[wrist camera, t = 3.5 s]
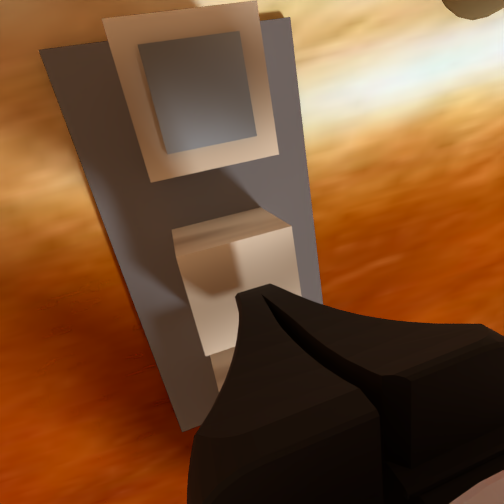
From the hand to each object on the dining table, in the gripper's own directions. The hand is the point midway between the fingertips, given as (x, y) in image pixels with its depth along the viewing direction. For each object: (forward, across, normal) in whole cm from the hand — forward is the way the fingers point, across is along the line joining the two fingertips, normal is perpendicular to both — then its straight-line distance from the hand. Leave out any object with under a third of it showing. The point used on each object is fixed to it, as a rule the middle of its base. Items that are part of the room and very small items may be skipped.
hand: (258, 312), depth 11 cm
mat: (+6, 0, 0) cm, 6 cm away
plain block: (+6, 0, 0) cm, 6 cm away
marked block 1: (+5, 0, -7) cm, 9 cm away
